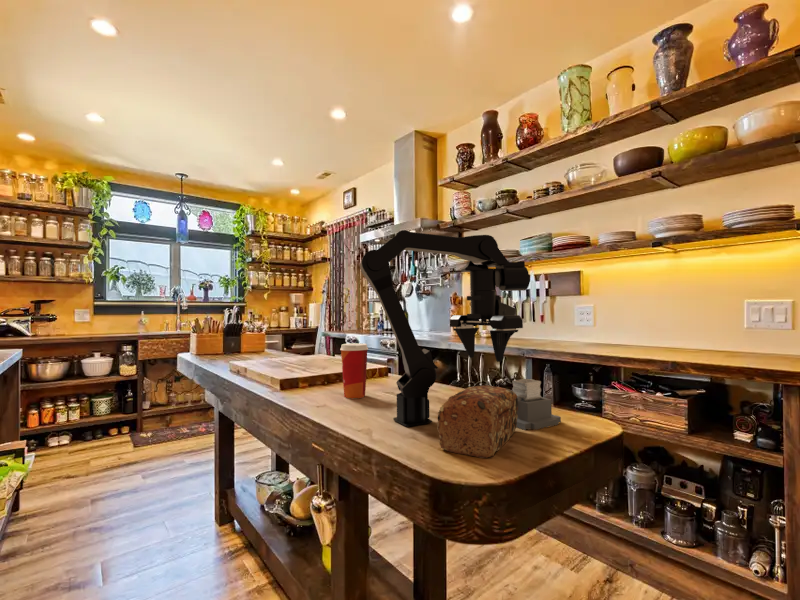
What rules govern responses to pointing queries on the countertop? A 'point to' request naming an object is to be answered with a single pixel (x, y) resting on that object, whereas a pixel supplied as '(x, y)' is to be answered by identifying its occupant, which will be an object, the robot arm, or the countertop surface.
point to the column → (527, 389)
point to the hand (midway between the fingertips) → (484, 359)
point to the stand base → (536, 414)
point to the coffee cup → (354, 369)
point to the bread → (478, 420)
